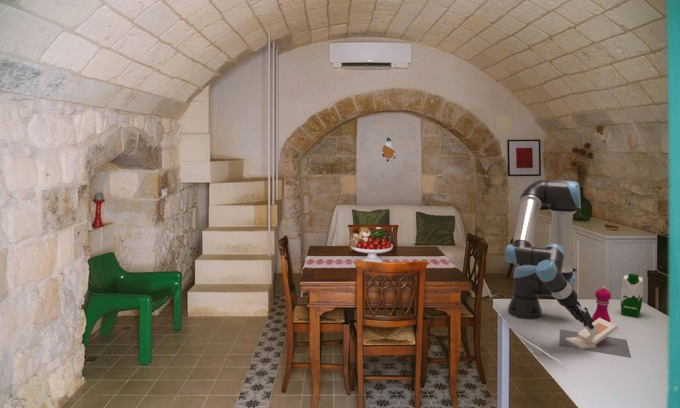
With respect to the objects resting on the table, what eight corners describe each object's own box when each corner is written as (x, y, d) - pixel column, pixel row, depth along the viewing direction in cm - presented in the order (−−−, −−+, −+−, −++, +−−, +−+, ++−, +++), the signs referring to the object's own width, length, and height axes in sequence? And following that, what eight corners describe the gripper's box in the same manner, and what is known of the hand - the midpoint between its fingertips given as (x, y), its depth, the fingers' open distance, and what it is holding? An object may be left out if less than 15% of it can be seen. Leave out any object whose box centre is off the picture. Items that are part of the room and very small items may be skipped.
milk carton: (619, 315, 231) (622, 274, 229) (620, 309, 239) (623, 270, 236) (640, 318, 227) (644, 277, 224) (641, 313, 234) (644, 273, 232)
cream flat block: (593, 342, 192) (616, 325, 193) (577, 333, 200) (599, 317, 202) (595, 344, 192) (617, 328, 194) (578, 336, 201) (600, 320, 202)
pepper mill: (612, 333, 208) (615, 288, 206) (594, 332, 210) (597, 287, 207) (606, 327, 215) (610, 284, 213) (589, 326, 217) (592, 283, 214)
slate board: (560, 331, 211) (560, 329, 210) (626, 341, 200) (626, 339, 200) (558, 348, 194) (559, 345, 193) (631, 360, 183) (631, 357, 183)
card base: (581, 349, 190) (581, 346, 190) (565, 339, 199) (565, 337, 199) (595, 347, 192) (596, 345, 192) (579, 338, 201) (579, 336, 201)
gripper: (546, 294, 195) (576, 332, 201) (568, 305, 183) (600, 345, 189) (558, 281, 196) (588, 320, 202) (582, 291, 183) (613, 332, 189)
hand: (594, 332), depth 195 cm, fingers closed
